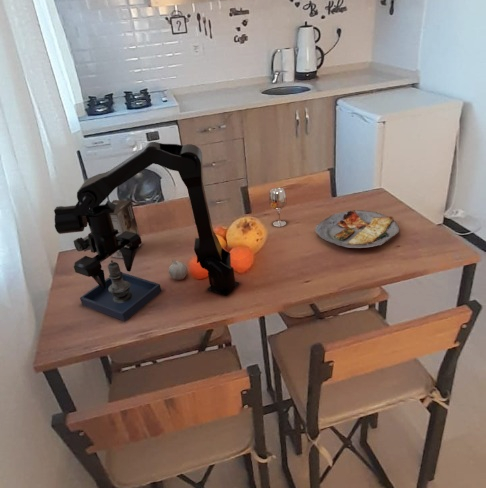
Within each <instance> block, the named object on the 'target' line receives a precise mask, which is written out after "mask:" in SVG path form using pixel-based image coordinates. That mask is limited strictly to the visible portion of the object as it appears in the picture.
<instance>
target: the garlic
mask: <svg viewBox="0 0 486 488" xmlns="http://www.w3.org/2000/svg"><path fill="white" fill-rule="evenodd" d="M171 262H172V263H171V265H170V266H169V267H168V275H169V276H170V277H171V279H173V280H184V279H185V277H186V276H187V275H188V271H189V269H188V265H187V264H185V263H184V262H182V261H177V260H171Z"/></svg>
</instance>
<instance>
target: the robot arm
mask: <svg viewBox="0 0 486 488" xmlns="http://www.w3.org/2000/svg"><path fill="white" fill-rule="evenodd" d="M152 165H158V166H161V167H163V168H165V169H167V170H170V171H174V172H178V174H179V176H180V179H181V181H182V182H183V184H184V186H185V187H186V189H187V192H188V197H189V201H190V205H191V210H192V215H193V218H194V223H195V227H196V231H197V235H198V237H195V238H194V246H193V250H194V253H195V255H196V264H199V265H200V267H201V268H202V269H204V270H206V271H207V277H208V282H209V286H208V287H207V291H208V292H211V293H214V294H217V295H221V296H224V297H227V296H229V294H231V292H233V291H234V290H235V289H236V288H237V287H238V286H239V285H240V283H239V282H240V281H236V278H235V271H234V269H235V268H234V267H232V265H231V261H232V260H231V252H230V251H228V250H226V249H225V248H223V247H222V244H221V243H220V240H219V237H218V236H217V234H216V233H215V231H214V229H213V223H212V219H211V214H210V210H209V205H208V200H207V196H206V191H205V187H204V181H203V178H204V177H203V152H202V150H201V148H200V147H198V146H197V145H195V144H193V143H192V144H191V143H188V144H184V145H183V144H178V143H163V142H157V141H151V142H148V143H147V144H146V145H145V146H144V147H143V148H141V149H140V150H138V151H137V152H135V153H133V154H132V155H130V156H129V157H128V158H126V159H125V160H123V161H121V162H120V163H119V164H117V165H116V166H114V167H113V168H111V169H110V170H107V171H106V172H102V173H98V174H96V175H93V176H90V177H88V178H86V179H85V180H84V181H83V183H82V184H81V186H80V187H79V188H78V190H77V191H76V199H77V202H76V204H75V205H67V206H66V205H65V206H63V205H59V206H55V208H54V210H53V213H54V228H55V231H56V232H57V233H58V234H59V235H63V234H73V233H80V232H84V231H85V228H87V227H88V228H89V231H90V232H89V233H88V235H86V236H84V237H81V236H80V237H78V238H75V239H74V240H73V245H74V248H75V250H76V251H77V252H87V251H90V253H93V254H95V253H96V255H95V256H93V257H91V256H88V255H84V256H83V257H81V258H79V259H78V260H76V261H74V263H73V270H74V272H75V273H76V274H79V275H82V276H85V277H88V278H92V279H93V280H94V281H95V282H96V283H97V285H99V286H100V287H101V288H102V289H106V283H105V280H106V278H105V270H104V269H102V262H104V261H105V260H107V259H108V258H110V257H112V255H113V254H114V253H116V252H117V251H118V250H120V252H121V253H122V257H123V258H122V260H123V265H124V266H125V270H126V271H127V272H128V273H130V272H131V271H132V268H133V264H134V260H135V257H136V254H137V251H138V249H139V248H140V247H139V245H140V244H141V243H142V244H143V242H142V237H141V235H140V233H139V234H136V233H132V232H128V231H125V232H123V233H121V234H120V235H118V236H117V237H116V235H117V234H118V233H119V232H118V230H117V229H114V226H113V223H112V219H111V215H110V213H114V211H115V209H116V207H117V205H116V204H114V203H111V202H112V201H110V200H106V199H108V197H109V196H111V194H112V193H113V192H114V191H115V190H116V189H117V188H118V187H120V186H121V185H123V184H124V183H126V182H127V181H129V180H130V179H132V178H134V177H135V176H136V175H138V174H140V173H141V172H142V171H144V170H146V169H148V168H149V167H150V166H152ZM105 200H106V202H105ZM103 202H105V203H103ZM139 235H140V236H139Z"/></svg>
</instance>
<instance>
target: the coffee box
mask: <svg viewBox="0 0 486 488" xmlns="http://www.w3.org/2000/svg"><path fill="white" fill-rule="evenodd" d="M110 202H111V203H114V204H116V205H117V207H116V209H115V211H114V213H110V215H111V219H112V223H113V226H114V229H117V230H118V232H119V233H118V234H117V235H116V237H117V236H118V235H120V234H121V233H123V232H125V231H128V232H132V233H136V234H139V236H140V237H141V235H140V231H139V227H138V223H137V220H136V216H135V212H134V208H133V204H132V200H123V199H113V200H112V201H110ZM142 245H143V242H142V243H141V244H140V245H139V248H140V247H141V246H142ZM111 257H112V258H117V259H123V257H122V253H121V252H120V250H118V251H117V252H116V253H114V254H113V255H111Z"/></svg>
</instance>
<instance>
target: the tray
mask: <svg viewBox="0 0 486 488" xmlns="http://www.w3.org/2000/svg"><path fill="white" fill-rule="evenodd" d="M122 273H123V275H122V277H123V280H124V281H128V282H129V283H130V289H129V292H130V293H131V294H132V297H131V298H130V299H129V300H128V301H126V302H123V303H115V302H114V301H113V297H114V296H113V295H112V294H111V292H109V290H108V288H109V286H110V285H111V284H112V281H111V278H109V277H108V278H105V283H106V289H102V288H101V287H100V286H99V284H97V285H96V286H94V287H92V289H90V290H89V291H87V292H86V293H84V294H83V295H82V296H80V297H79V300H80V303H81V305H82V306H83V307H87V308H88V309H91V310H93V311H95V312H99V313H101V314H104V315H106V316H109V317H112V318H115V319H117V320H119V321H121V322H126V321H127V320H129V319H130V318H131V317H132V316H133V315H135V314H136V313H137V312H139V311H140V310H141V309H142V308H143V307H145V306H146V305H147V304H148V303H150V302H151V301H152V300H153V299H155V298H156V297H157V296H159V294H161V293H162V292H163V290H162V286H161V284H160V283H158V282H154V281H151V280H148V279H144V278H142V277H138V276H135V275H133V274H129V273H125V272H122Z"/></svg>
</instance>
